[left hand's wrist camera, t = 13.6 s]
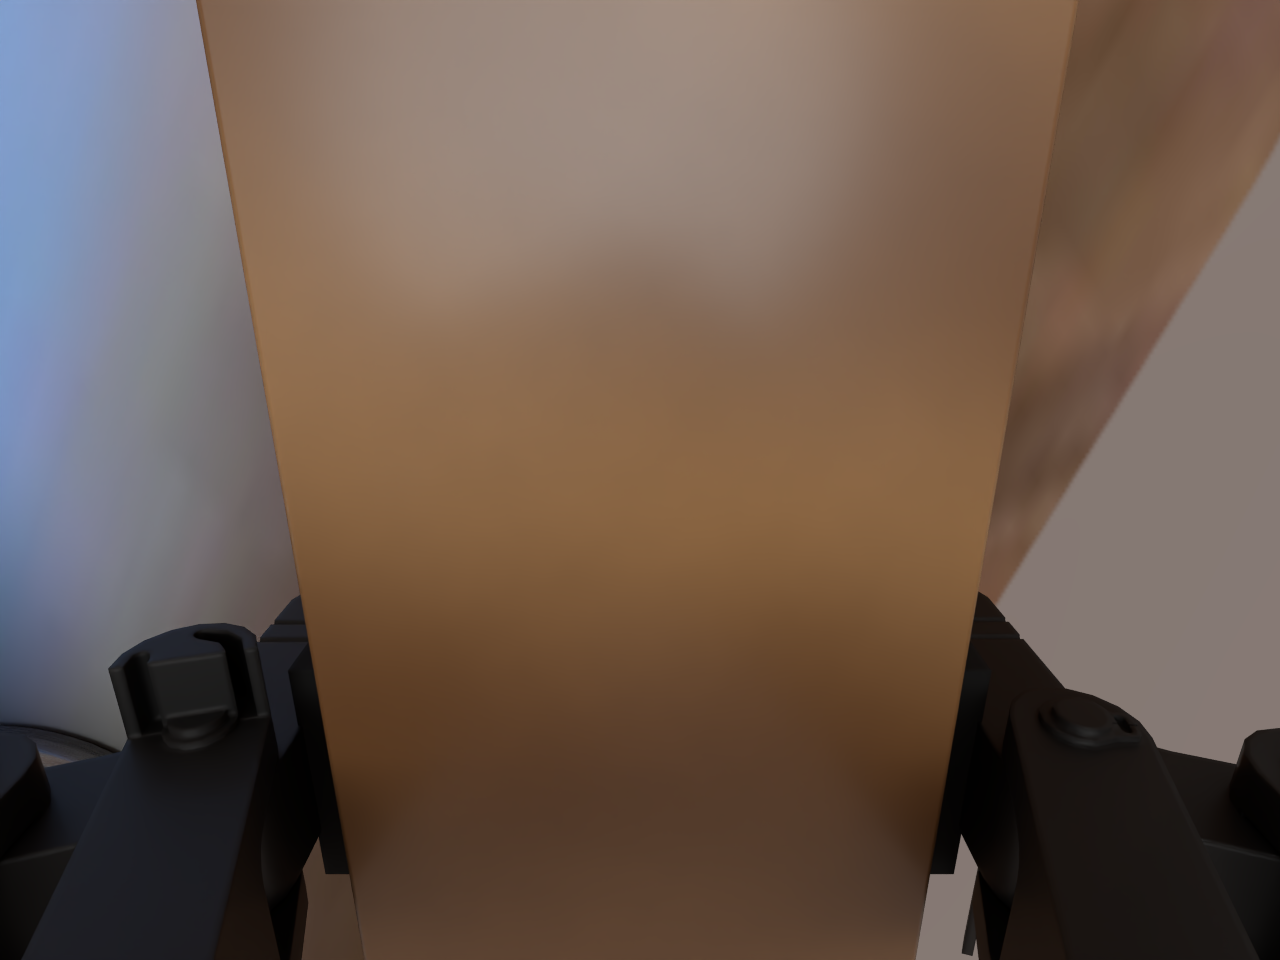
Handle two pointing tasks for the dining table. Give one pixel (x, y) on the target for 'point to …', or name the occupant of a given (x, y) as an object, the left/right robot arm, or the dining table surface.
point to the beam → (638, 442)
